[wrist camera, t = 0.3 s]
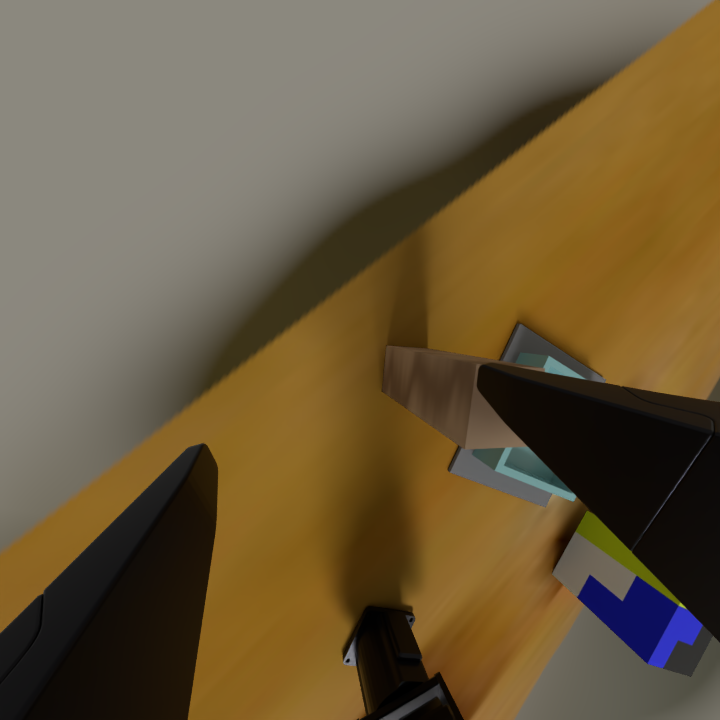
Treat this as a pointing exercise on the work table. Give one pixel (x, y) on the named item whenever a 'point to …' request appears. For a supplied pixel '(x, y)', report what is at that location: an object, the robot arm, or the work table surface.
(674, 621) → the puzzle toy
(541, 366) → the dish
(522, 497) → the mat
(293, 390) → the work table surface
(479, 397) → the block
